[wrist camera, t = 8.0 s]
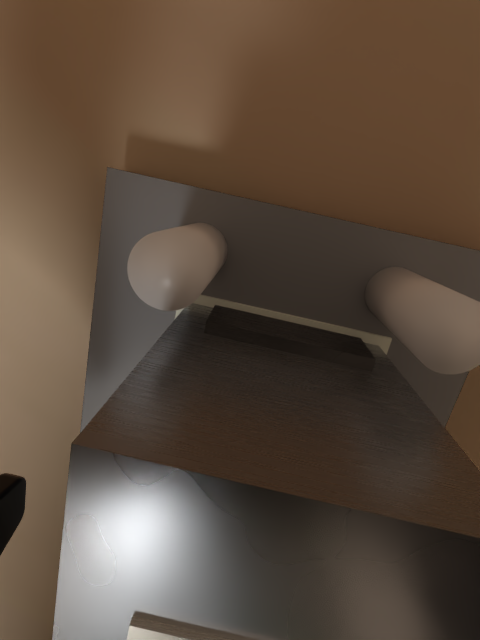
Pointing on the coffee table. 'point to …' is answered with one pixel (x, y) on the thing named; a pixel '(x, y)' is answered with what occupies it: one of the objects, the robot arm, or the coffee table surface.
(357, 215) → the coffee table surface
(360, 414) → the drive
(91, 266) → the coffee table surface
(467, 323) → the panel with knobs
